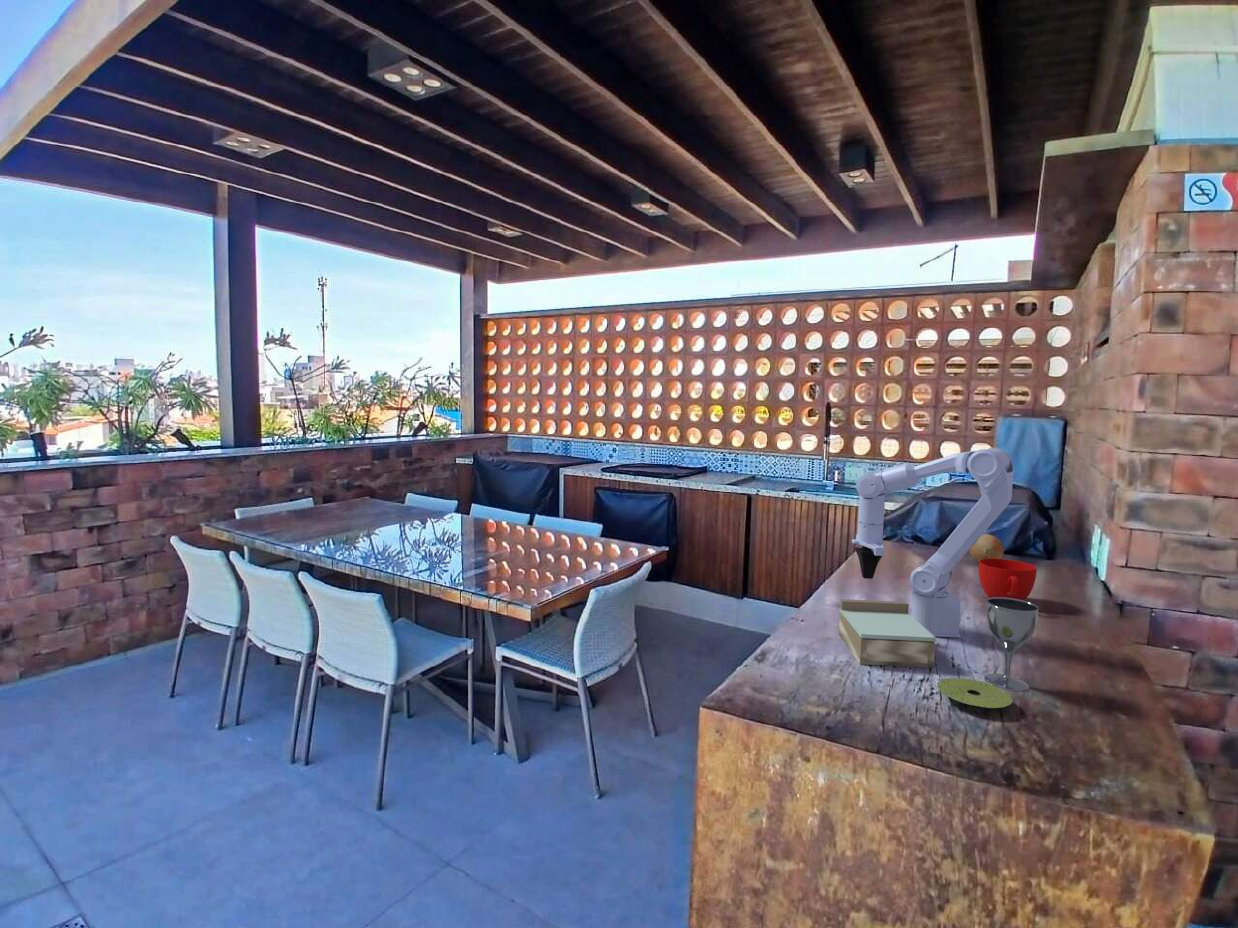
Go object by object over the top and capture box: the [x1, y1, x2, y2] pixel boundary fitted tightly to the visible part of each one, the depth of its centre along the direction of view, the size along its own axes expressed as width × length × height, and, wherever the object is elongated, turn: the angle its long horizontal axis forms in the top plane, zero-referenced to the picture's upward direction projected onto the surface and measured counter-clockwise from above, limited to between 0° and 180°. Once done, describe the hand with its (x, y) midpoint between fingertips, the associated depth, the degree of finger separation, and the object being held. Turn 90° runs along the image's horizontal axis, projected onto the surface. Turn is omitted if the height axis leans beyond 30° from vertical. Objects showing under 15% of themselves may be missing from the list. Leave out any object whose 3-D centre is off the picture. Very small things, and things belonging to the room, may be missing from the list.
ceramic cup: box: [978, 558, 1038, 601], centre depth 161 cm, size 13×17×10 cm
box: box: [838, 612, 936, 669], centre depth 128 cm, size 14×16×5 cm
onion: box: [968, 533, 1005, 563], centre depth 202 cm, size 10×10×10 cm
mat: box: [936, 677, 1013, 709], centre depth 106 cm, size 11×11×2 cm
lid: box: [839, 598, 937, 643], centre depth 128 cm, size 14×16×3 cm
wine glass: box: [984, 597, 1039, 692], centre depth 113 cm, size 8×8×15 cm
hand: (867, 577), depth 149 cm, fingers closed
